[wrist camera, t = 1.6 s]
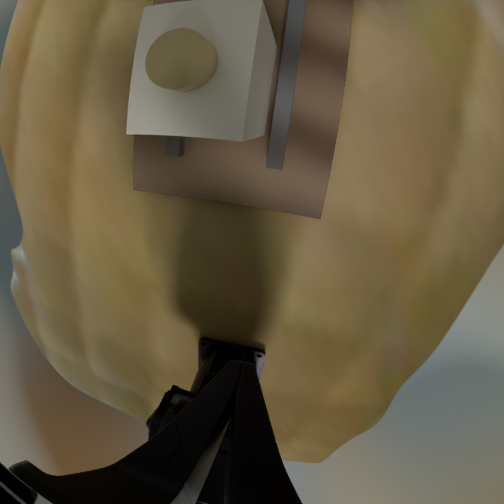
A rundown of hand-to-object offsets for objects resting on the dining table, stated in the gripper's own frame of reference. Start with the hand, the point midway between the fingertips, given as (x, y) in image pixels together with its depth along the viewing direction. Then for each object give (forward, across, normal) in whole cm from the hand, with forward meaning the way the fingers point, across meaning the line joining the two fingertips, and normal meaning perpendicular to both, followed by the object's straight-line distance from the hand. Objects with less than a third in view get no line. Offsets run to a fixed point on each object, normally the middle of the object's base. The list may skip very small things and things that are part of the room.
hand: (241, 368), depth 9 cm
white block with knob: (+12, +4, -10) cm, 16 cm away
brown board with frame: (+13, +4, -14) cm, 20 cm away
